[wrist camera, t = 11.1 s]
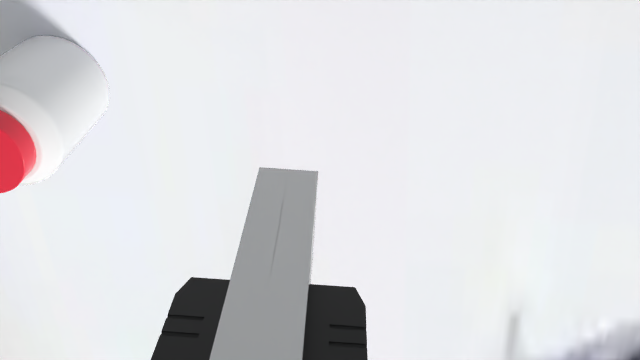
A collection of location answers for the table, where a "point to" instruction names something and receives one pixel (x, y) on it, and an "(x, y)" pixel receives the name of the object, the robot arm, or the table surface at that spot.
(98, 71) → the pill bottle
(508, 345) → the table surface
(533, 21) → the table surface
